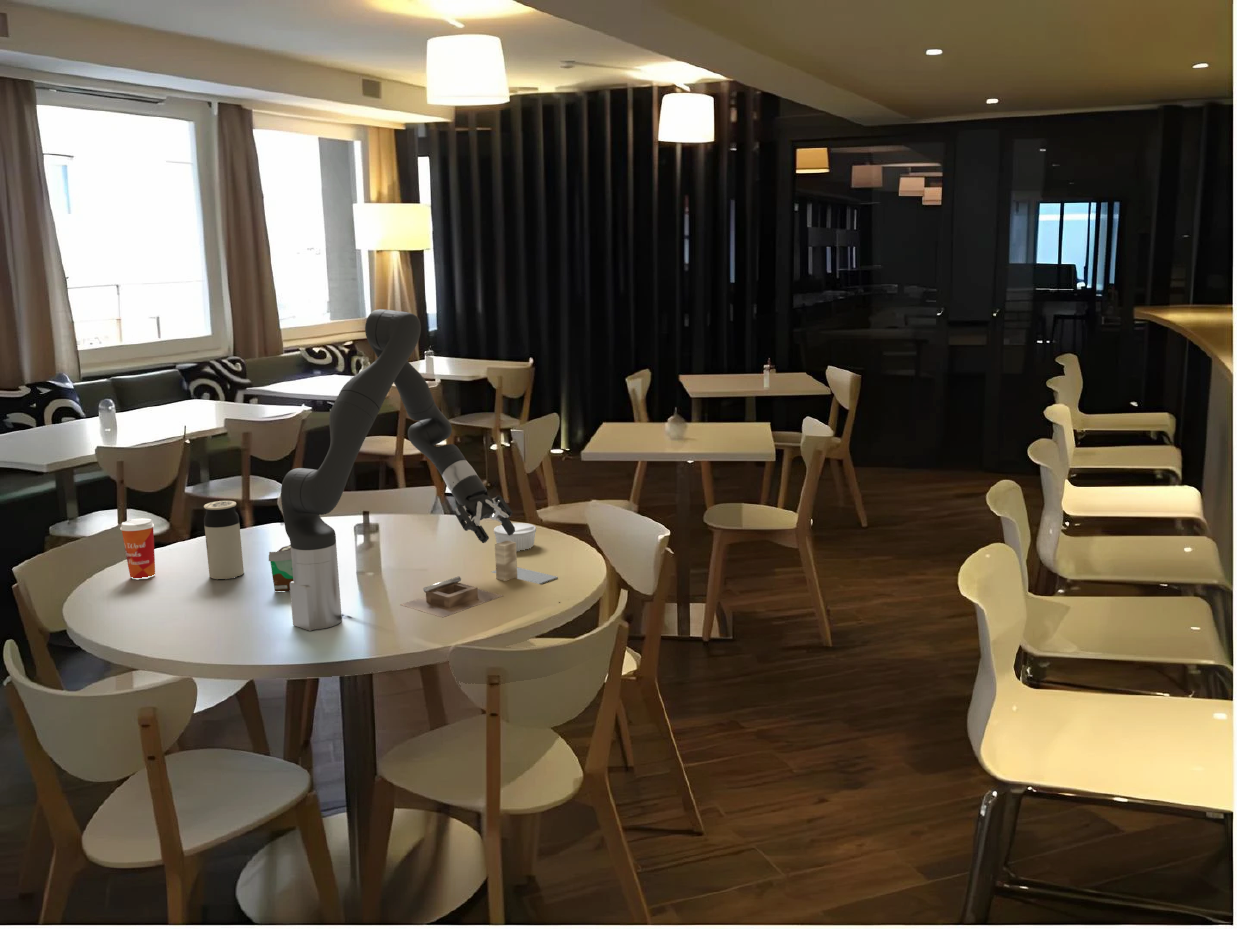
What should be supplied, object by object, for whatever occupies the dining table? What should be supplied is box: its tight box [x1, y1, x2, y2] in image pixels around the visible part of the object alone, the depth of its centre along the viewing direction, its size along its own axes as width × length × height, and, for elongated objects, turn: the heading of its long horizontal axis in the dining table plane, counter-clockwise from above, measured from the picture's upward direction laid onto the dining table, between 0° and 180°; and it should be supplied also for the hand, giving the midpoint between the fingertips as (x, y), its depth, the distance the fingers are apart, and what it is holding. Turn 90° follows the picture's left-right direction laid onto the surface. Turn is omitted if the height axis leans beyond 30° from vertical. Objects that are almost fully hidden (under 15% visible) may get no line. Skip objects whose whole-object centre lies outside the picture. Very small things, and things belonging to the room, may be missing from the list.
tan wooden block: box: [494, 541, 518, 582], centre depth 253 cm, size 4×3×9 cm
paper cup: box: [119, 517, 156, 578], centre depth 263 cm, size 8×8×14 cm
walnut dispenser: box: [400, 576, 504, 618], centre depth 238 cm, size 18×14×5 cm
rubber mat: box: [491, 566, 559, 585], centre depth 254 cm, size 18×16×1 cm
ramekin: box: [493, 522, 537, 552], centre depth 284 cm, size 11×11×5 cm
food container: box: [268, 544, 293, 592], centre depth 253 cm, size 12×6×10 cm, turn 168°
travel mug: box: [203, 500, 245, 580], centre depth 262 cm, size 8×8×18 cm
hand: (499, 537), depth 253 cm, fingers open, 8 cm apart
